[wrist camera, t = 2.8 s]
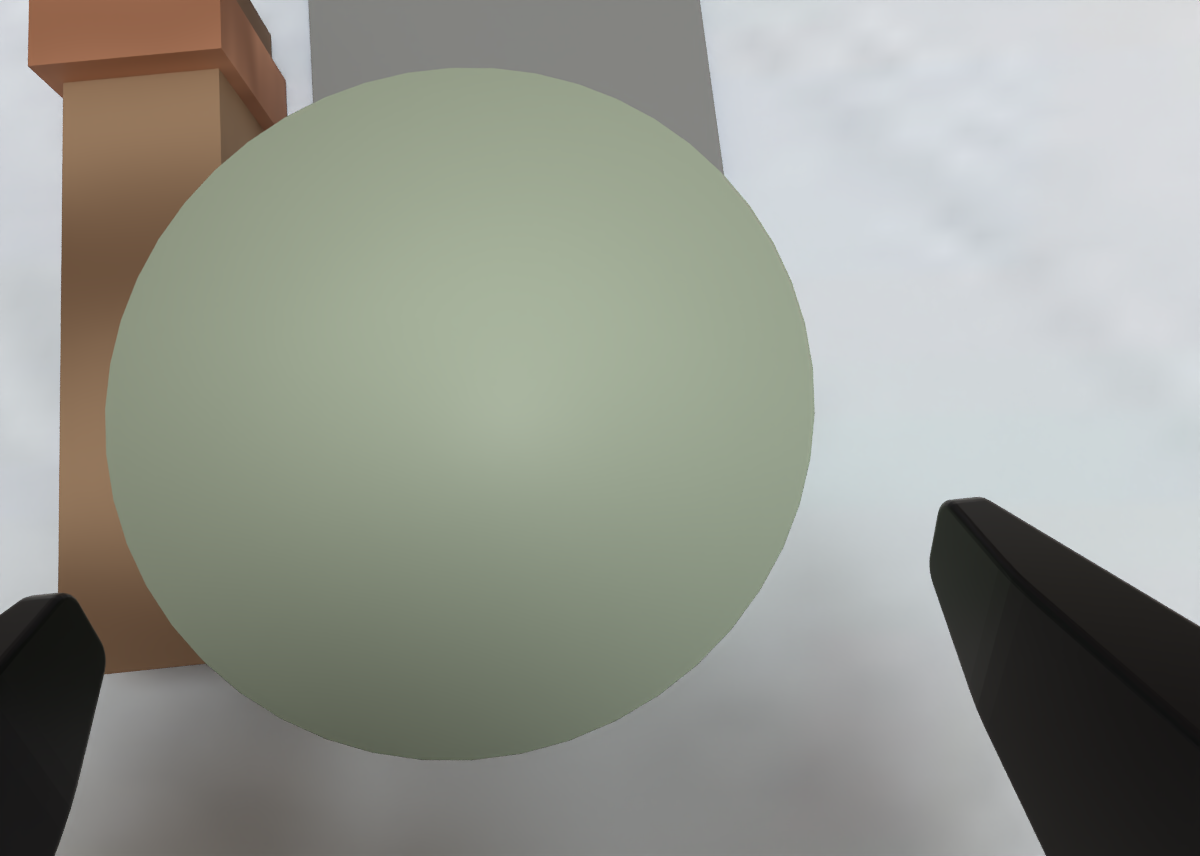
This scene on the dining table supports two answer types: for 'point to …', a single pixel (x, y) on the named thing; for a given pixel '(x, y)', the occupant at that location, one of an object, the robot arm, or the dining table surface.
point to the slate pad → (530, 49)
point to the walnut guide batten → (132, 240)
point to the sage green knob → (459, 414)
